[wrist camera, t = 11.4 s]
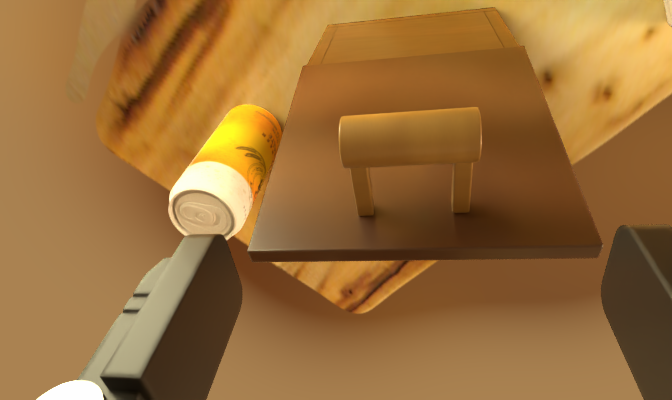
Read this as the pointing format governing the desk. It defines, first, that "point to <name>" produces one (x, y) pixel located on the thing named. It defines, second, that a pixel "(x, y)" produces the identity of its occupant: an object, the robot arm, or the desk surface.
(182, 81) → the desk surface
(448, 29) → the chest
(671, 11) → the white packaging box
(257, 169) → the beer can
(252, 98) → the desk surface
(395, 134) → the lid
